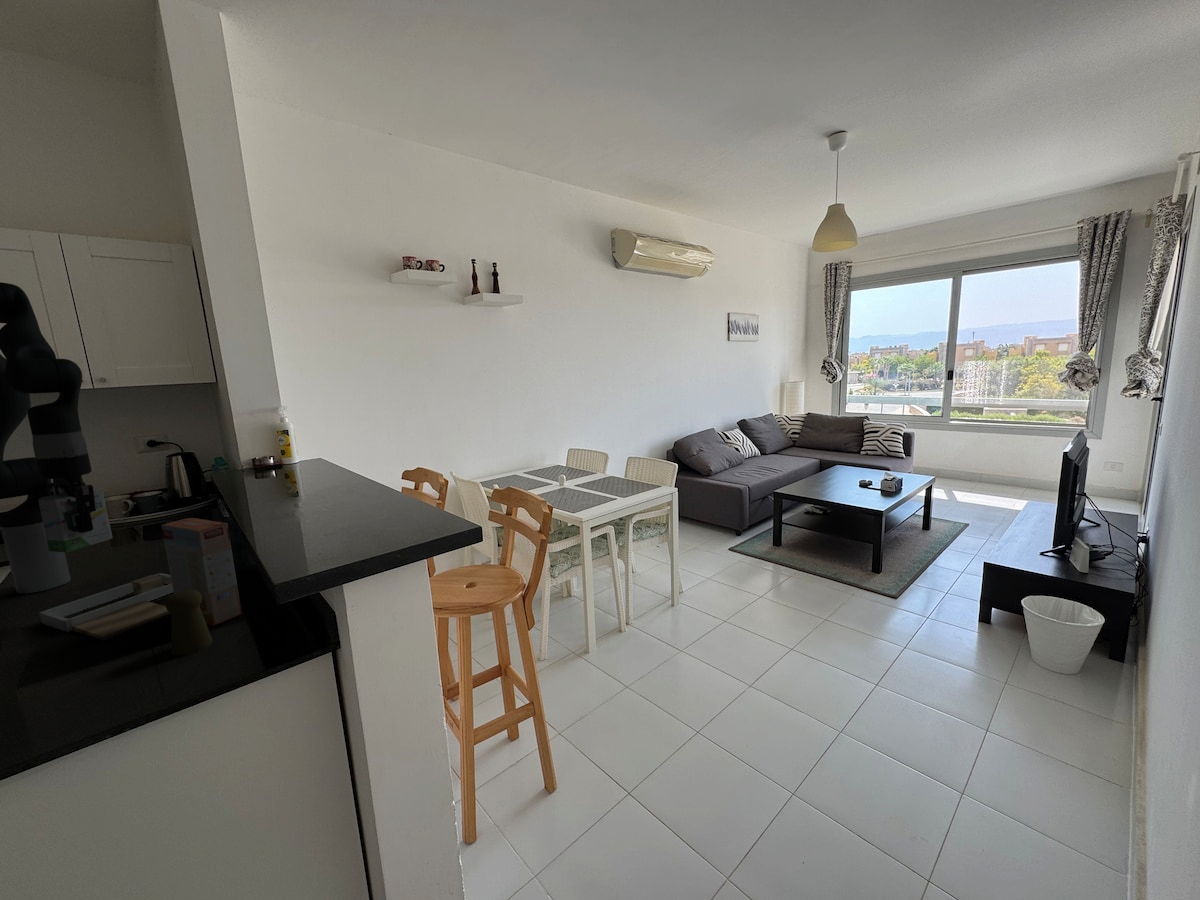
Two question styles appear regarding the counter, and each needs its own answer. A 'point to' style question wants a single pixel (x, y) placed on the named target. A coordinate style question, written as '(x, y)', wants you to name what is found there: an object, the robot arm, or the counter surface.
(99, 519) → the ink box
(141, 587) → the beech block
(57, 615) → the white slotted tray
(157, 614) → the striped wooden board
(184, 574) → the cracker box
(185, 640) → the pepper shaker
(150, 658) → the counter surface
